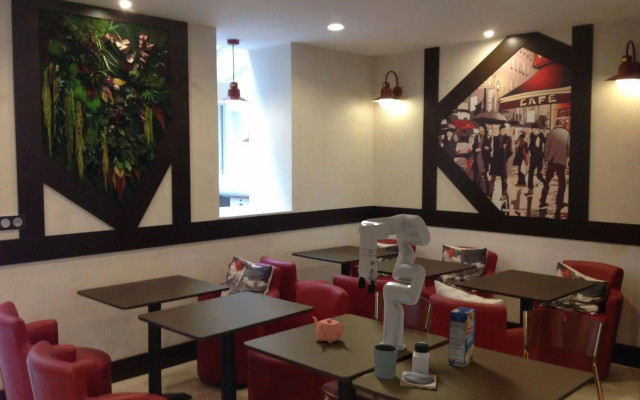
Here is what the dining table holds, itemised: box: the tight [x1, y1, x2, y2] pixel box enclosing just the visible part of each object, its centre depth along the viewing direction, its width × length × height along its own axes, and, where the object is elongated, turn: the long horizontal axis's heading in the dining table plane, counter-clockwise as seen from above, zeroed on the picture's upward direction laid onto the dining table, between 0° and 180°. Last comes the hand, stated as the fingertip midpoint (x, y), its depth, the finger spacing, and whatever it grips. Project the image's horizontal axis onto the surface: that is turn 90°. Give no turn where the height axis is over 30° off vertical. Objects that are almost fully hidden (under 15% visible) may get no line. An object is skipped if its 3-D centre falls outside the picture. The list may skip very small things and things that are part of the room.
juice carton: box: [447, 306, 477, 366], centre depth 264 cm, size 12×8×24 cm, turn 147°
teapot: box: [312, 316, 347, 344], centre depth 290 cm, size 14×14×11 cm
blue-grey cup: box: [373, 343, 399, 381], centre depth 246 cm, size 10×10×12 cm
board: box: [399, 370, 438, 390], centre depth 241 cm, size 14×14×2 cm
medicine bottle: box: [411, 341, 431, 374], centre depth 253 cm, size 7×7×12 cm
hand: (366, 290), depth 257 cm, fingers open, 9 cm apart
